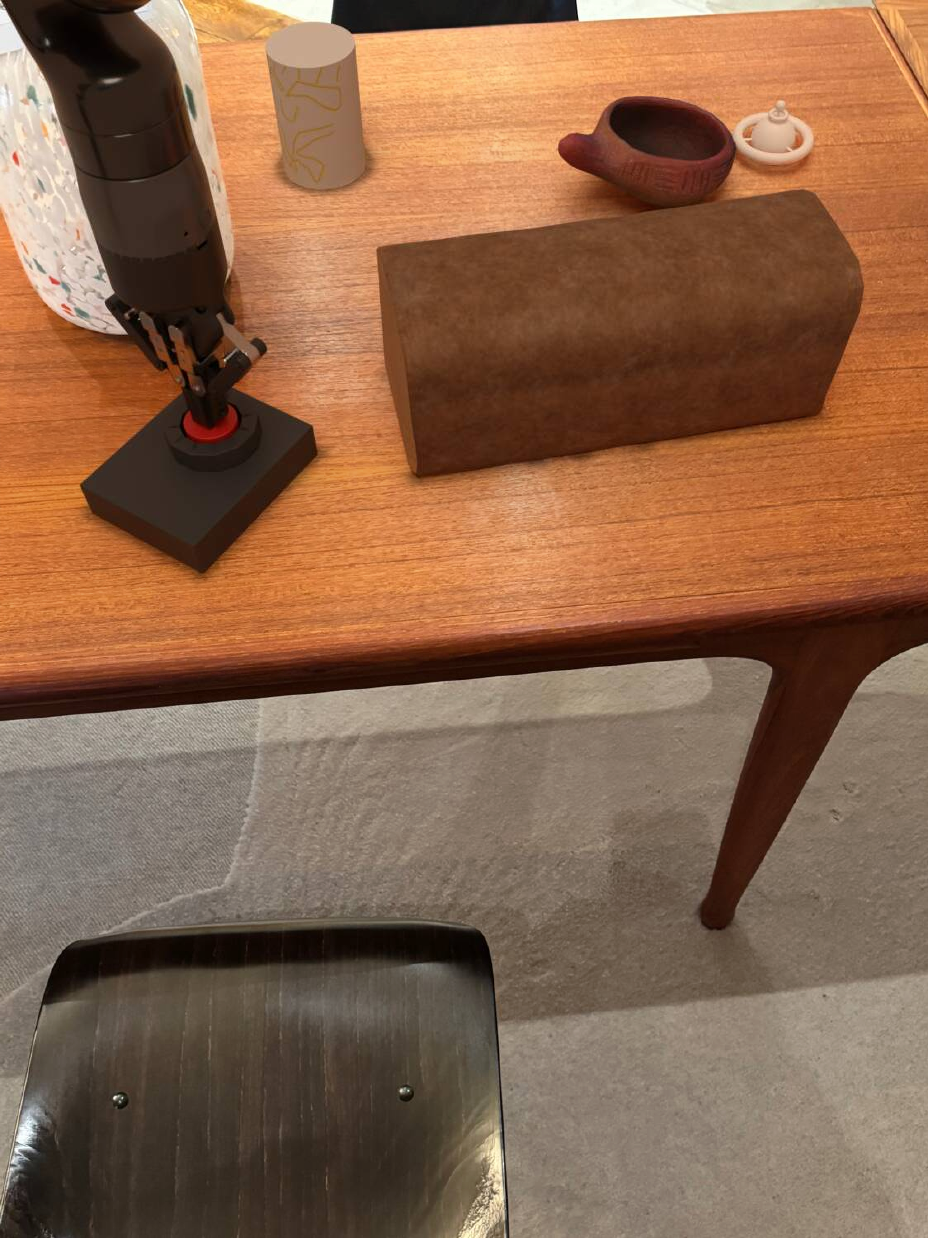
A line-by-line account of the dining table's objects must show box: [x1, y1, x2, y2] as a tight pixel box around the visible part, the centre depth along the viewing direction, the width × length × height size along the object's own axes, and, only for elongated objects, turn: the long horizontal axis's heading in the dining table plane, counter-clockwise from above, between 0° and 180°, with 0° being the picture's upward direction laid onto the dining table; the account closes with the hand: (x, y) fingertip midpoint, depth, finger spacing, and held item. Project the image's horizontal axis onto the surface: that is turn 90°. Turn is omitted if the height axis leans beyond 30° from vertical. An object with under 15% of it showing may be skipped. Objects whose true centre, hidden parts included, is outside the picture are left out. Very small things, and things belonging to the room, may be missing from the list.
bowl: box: [557, 95, 737, 208], centre depth 99 cm, size 16×13×8 cm
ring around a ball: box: [731, 99, 815, 166], centre depth 104 cm, size 8×6×8 cm
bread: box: [375, 188, 865, 478], centre depth 82 cm, size 14×34×14 cm, turn 102°
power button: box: [184, 404, 240, 444], centre depth 80 cm, size 4×4×2 cm
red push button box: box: [79, 386, 319, 574], centre depth 80 cm, size 14×11×5 cm
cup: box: [264, 21, 367, 191], centre depth 101 cm, size 8×8×12 cm
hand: (211, 419), depth 79 cm, fingers closed
